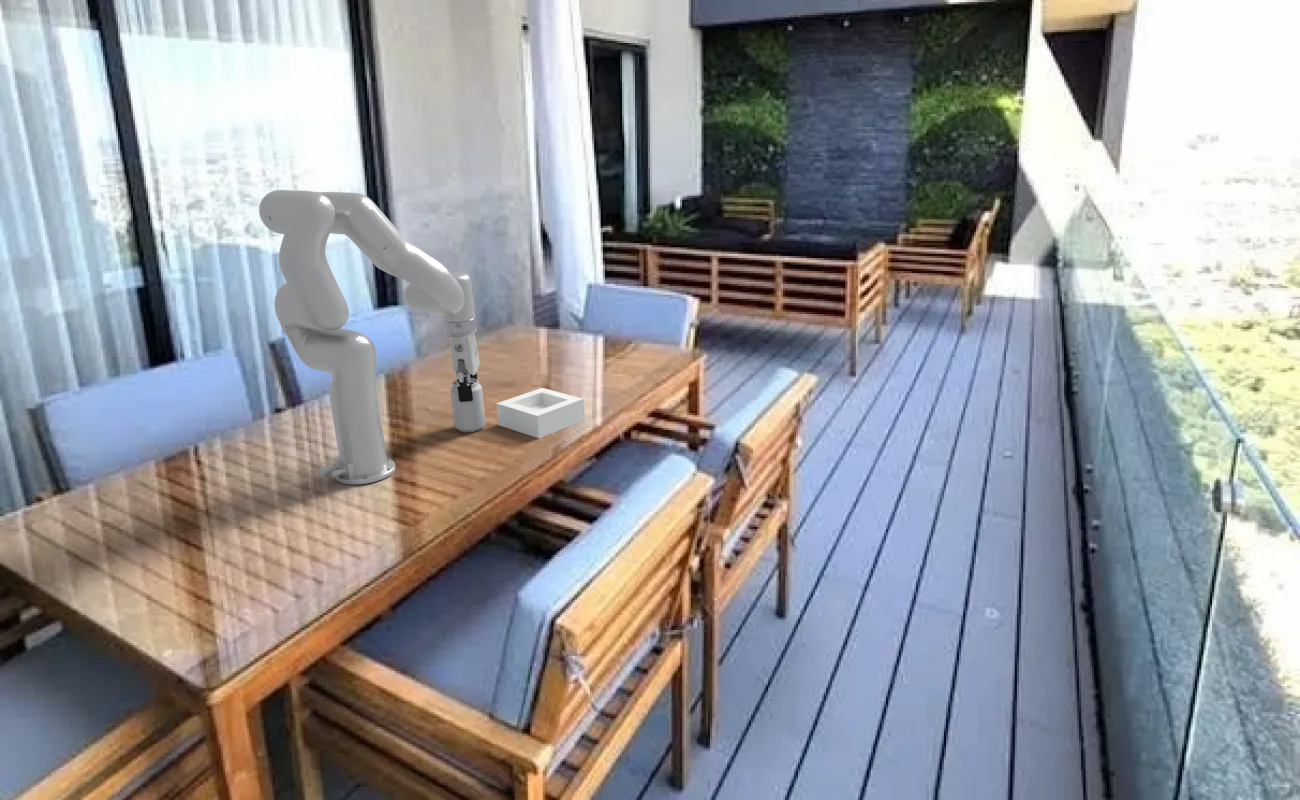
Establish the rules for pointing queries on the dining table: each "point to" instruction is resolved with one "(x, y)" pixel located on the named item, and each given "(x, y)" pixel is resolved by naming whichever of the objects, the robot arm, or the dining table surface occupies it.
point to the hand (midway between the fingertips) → (469, 394)
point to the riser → (540, 412)
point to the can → (468, 408)
